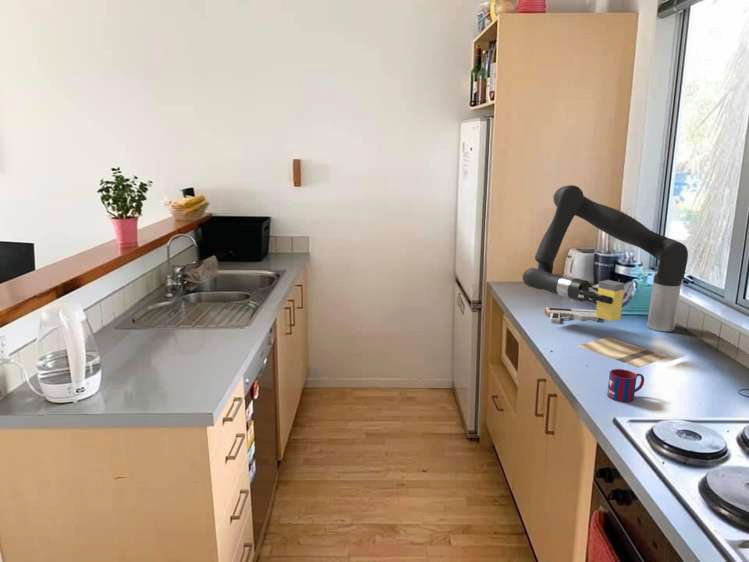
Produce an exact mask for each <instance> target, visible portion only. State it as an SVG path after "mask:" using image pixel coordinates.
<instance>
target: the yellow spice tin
mask: <svg viewBox="0 0 749 562" xmlns="http://www.w3.org/2000/svg"><path fill="white" fill-rule="evenodd" d="M597 287H598V294H601V295H605V296H609V297H612V298H613V302H612V304H608V303H604V302H597V301H596V307H595V310H596V314H595V317H598V319H599V318H600V319H603V320H605V321H608V322H614V321H617V320H621V316H622V308H623V301H624V292H625V291H624V290H625V283H624V282H620V281H615V280H611V279H605V280H601V281H598V286H597Z"/></svg>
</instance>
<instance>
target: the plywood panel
mask: <svg viewBox="0 0 749 562" xmlns="http://www.w3.org/2000/svg"><path fill="white" fill-rule="evenodd" d="M577 347H579V348H581V349H584V350H587V351H590V352H594V353H596V354H598V355H602V356H604V357H608V358H610V359H612V360H616V361H619V362H622V363H624V364H627V365H630V366H632V367H636V368H641V367H643V366H646V365H649V364H652V363H656V362H658V361H661V360H663V359H667V358H669V356H668V355H665V354H661V353H658V352H655V351H652V350H649V349H645V348H643V347H640V346H636V345H634V344H631V343H629V342H625V341H621V340H618V339H615V338H612V337H608V336H607V337H602V338H600V339H597V340H593V341H588V342H586V343H582V344H578V345H577Z"/></svg>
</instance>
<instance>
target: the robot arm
mask: <svg viewBox="0 0 749 562" xmlns="http://www.w3.org/2000/svg"><path fill="white" fill-rule="evenodd" d="M553 203H554V204H555V207H556V209H555V213H554V216H553V218H552V221H551V223H550V225H549V226H548V227H547V229H546V232H545V233H544V235H543V236H542V239H541V241H540V243H539V246H538V248H537V250H536V253H535V257H534V260H535V261H536V263H538V265H537V266H538V267H537V268H535V267H530V268H528V269H526V270H525V271H524V272H523V274H522V281H523V283H524V285H526V286H528V287H529V288H533V289H537V290H539V291H540V290H541V291H546V292H548V293H551V294H554V295H558V296H561V297H563V298H566V299H570V300H573V301H577V302H590V303H597V302H604V303H608V304H612V302H613V298H612V297H609V296H605V295H601V294H598V287H599V286H592V284H591V283H590V281H588V280H586V279H582V278H577V277H574V276H566V275H561V274H557V273H554V272H553V271H554V264H555V263H554V262H555V261H556V257H557V256H558V253H559V250H560V248H561V245H562V243H563V240H564V237H565V235H566V233H567V232H568V229H569V227H570V224H571V223H572V221H573V219H574V217H575V216H576V217H578V218H579V219H582V220H584V221H586V222H588V223H589V224H590V225H592V226H594V227H596V228H597V229H598V230H600V231H601V232H604V233H605V234H607V235H609V236H611V237H612V238H614V239H616V240H618V241H621V242H623V243H625V244H628V245H632V246H634V247H637V248H640V249H642V250H643V251H644V252H646V253H648V254H649V255H650V256H653V257H654V258H655V259H656V260H658V261H659V264H658V269H657V272H656V273H655V274H654V275H653V279H652V280H653V281H652V288H651V296H650V303H649V308H648V309H649V310H648V318H647V323H646V326H647V328H648V329H650V330H653V331H656V332H657V331H659V332H673V331H675V328H676V323H677V316H678V309H679V299H680V296H681V295H680V293H681V286H682V282H683V279H684V277H685V275H686V269H687V264H688V259H689V251H688V248H687V246H686V245H685V244H684V243H682V242H680V241H677V240H676V239H672V238H669V237H666V236H665V235H661V234H659V233H657V232H655V231H653V230H651V229H649V228H648V227H646V226H645V225H644V224H643V223H642V222H640V221H638V220H637V219H636V218H634V217H632V216H630V215H628V214H627V213H624V212H623V211H621V210H618V209H616V208H614V207H610V206H608V205H604V204H601V203H597V202H595V201H593V200H591V199H590V198H588V197H587V196H585V195H584V192H583V190H582V189H581V188H580V187H579V186H577V185H572V184H569V185H565V186H564V185H563V186H562V187H560V188H558V189H557V190H556V191H555V192H554V194H553Z"/></svg>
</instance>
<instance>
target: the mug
mask: <svg viewBox="0 0 749 562" xmlns="http://www.w3.org/2000/svg"><path fill="white" fill-rule="evenodd" d="M637 377H640V383H639V385H638V386H637V387H636V385H637ZM644 383H645V376H644V375H643V374H641V373H635V372H633V371H632V370H628V369H624V368H623V369H622V368H614V369H611V370H609V377H608V386H607V393H606V395H607V397H608V398H609V399H611V400H613V401H616V402H620V403H630V402H633V401H634V399H635V393H637V392H638V391H640V390H641V389H642V388H643V387H644V385H645V384H644Z"/></svg>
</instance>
